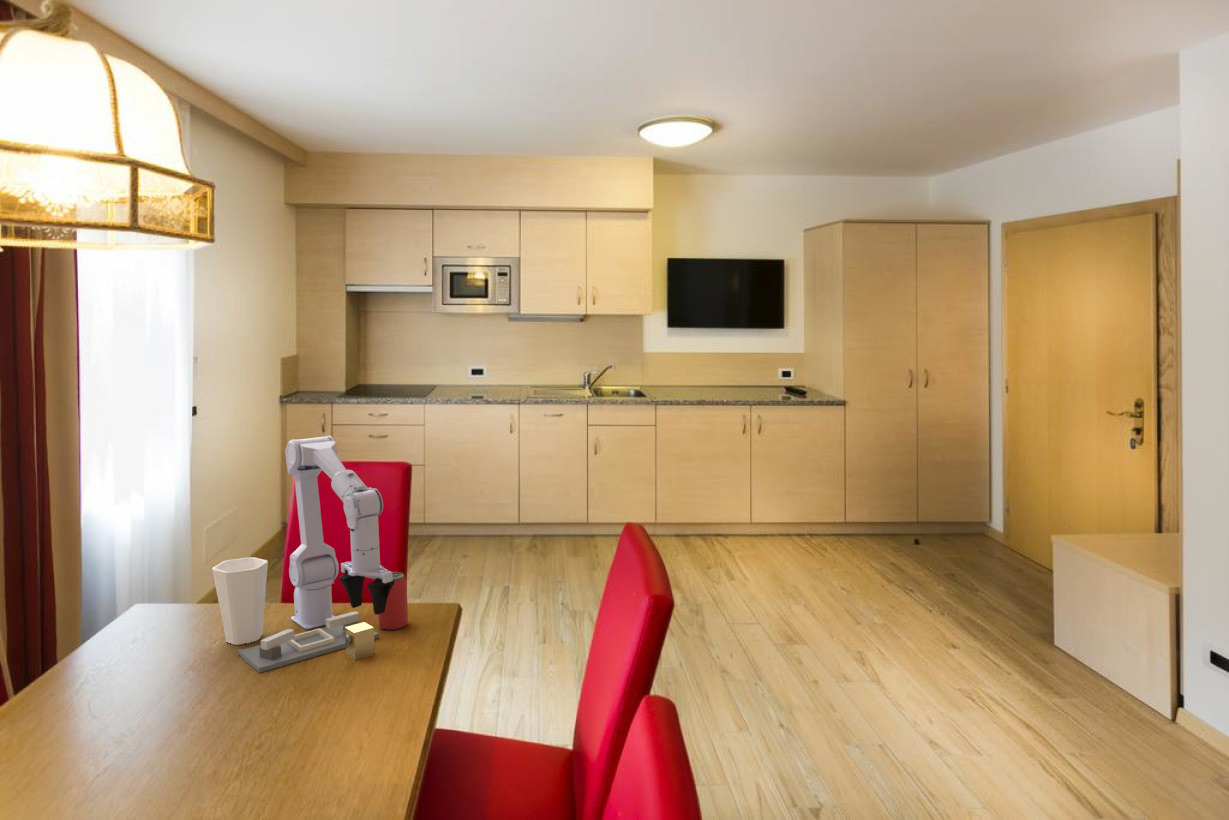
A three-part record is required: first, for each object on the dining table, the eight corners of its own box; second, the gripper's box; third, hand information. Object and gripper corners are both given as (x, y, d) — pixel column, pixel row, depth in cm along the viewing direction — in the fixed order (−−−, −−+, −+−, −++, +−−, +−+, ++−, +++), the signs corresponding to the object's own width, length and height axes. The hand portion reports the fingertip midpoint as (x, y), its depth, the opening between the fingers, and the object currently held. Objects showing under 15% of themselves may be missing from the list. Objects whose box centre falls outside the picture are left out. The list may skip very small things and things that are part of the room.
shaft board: (238, 655, 170) (237, 632, 170) (354, 623, 188) (353, 603, 187) (259, 672, 162) (257, 649, 161) (378, 638, 179) (378, 616, 179)
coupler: (343, 655, 170) (342, 628, 170) (367, 647, 174) (366, 621, 173) (352, 661, 167) (351, 633, 166) (377, 653, 171) (376, 626, 170)
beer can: (414, 623, 188) (412, 574, 186) (392, 633, 182) (390, 581, 181) (394, 618, 191) (392, 569, 190) (372, 627, 186) (370, 577, 184)
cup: (255, 648, 174) (251, 572, 172) (208, 648, 174) (204, 572, 172) (277, 629, 185) (274, 557, 183) (234, 629, 185) (230, 557, 183)
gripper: (327, 546, 170) (330, 608, 171) (371, 556, 162) (374, 622, 163) (355, 539, 176) (358, 599, 177) (399, 548, 167) (402, 612, 169)
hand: (368, 609), depth 170 cm, fingers open, 7 cm apart
